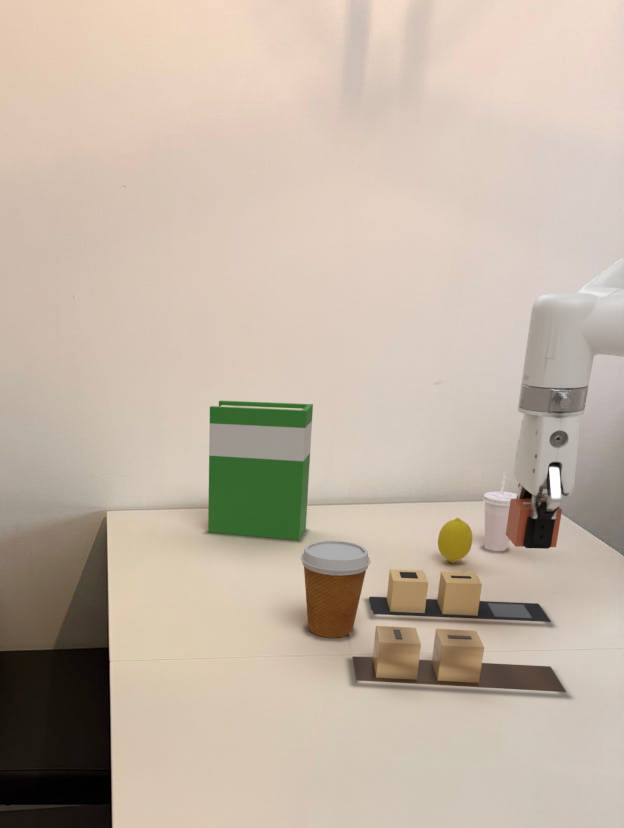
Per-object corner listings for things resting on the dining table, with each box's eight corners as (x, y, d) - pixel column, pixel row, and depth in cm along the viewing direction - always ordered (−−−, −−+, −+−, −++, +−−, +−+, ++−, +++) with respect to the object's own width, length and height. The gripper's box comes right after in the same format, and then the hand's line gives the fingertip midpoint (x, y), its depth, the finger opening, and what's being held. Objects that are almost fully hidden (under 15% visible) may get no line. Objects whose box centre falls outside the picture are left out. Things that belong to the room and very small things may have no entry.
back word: (538, 605, 132) (543, 571, 129) (550, 624, 125) (557, 588, 123) (369, 598, 135) (372, 565, 133) (373, 616, 129) (376, 581, 127)
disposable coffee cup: (356, 647, 119) (363, 565, 114) (288, 636, 123) (293, 556, 118) (370, 622, 127) (377, 544, 122) (306, 612, 131) (311, 536, 126)
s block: (544, 535, 115) (550, 498, 114) (556, 547, 111) (562, 508, 109) (505, 534, 116) (510, 497, 114) (515, 546, 112) (520, 508, 110)
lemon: (448, 555, 153) (453, 511, 150) (475, 563, 149) (482, 518, 146) (428, 561, 150) (433, 517, 147) (456, 570, 146) (462, 525, 143)
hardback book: (208, 532, 168) (209, 406, 159) (217, 521, 174) (220, 400, 165) (299, 540, 162) (306, 411, 153) (305, 528, 169) (313, 404, 160)
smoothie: (504, 541, 160) (515, 466, 154) (520, 552, 154) (533, 475, 149) (470, 542, 159) (480, 468, 154) (485, 554, 154) (496, 476, 148)
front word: (550, 669, 112) (557, 630, 110) (565, 694, 106) (573, 653, 104) (352, 658, 116) (355, 621, 114) (356, 683, 109) (359, 643, 107)
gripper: (609, 412, 98) (582, 563, 105) (562, 388, 114) (541, 521, 121) (539, 412, 99) (517, 561, 106) (503, 389, 115) (485, 521, 122)
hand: (530, 539), depth 113 cm, fingers closed on s block, 5 cm apart
